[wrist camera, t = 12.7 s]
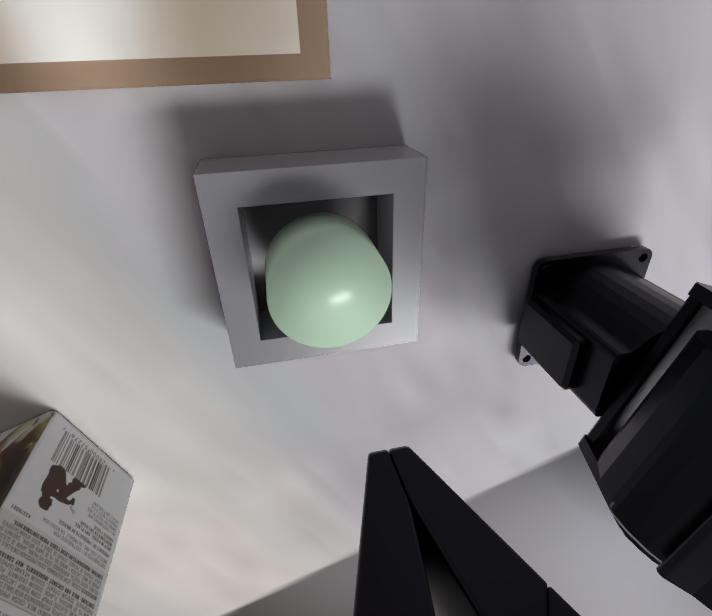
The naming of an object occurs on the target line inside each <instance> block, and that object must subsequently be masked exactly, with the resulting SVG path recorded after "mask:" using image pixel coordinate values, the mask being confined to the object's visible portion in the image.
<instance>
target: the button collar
mask: <svg viewBox="0 0 712 616" xmlns="http://www.w3.org/2000/svg"><path fill="white" fill-rule="evenodd" d="M426 164H427V157H426V156H424V155H422V154H421V153H419V152H417V151H415V150H414V149H412V148H410V147H408V146H407V145H398V146H384V147H370V148H356V149H342V150H328V151H314V152H300V153H286V154H272V155H258V156H244V157H230V158H216V159H202V160H201V161H200V162H199V164H198V166H197V168H196V170H195V172H194V174H193V177H194V182H195V186H196V191H197V195H198V200H199V204H200V209H201V213H202V218H203V222H204V227H205V231H206V236H207V240H208V245H209V249H210V254H211V258H212V263H213V267H214V272H215V276H216V281H217V285H218V290H219V294H220V299H221V303H222V308H223V312H224V317H225V321H226V326H227V330H228V335H229V339H230V344H231V348H232V353H233V357H234V362H235V366H236V368H240V367H247V366H254V365H261V364H267V363H274V362H281V361H288V360H294V359H301V358H308V357H315V356H321V355H328V354H335V353H342V352H348V351H355V350H362V349H369V348H375V347H382V346H389V345H396V344H402V343H409V342H416V341H417V336H418V317H419V298H420V279H421V259H422V240H423V221H424V202H425V183H426ZM372 195H377V251H378V252H379V254H380V255H381V257H382V258H383V260H384V262H385V264H386V265H387V267H388V270H389V272H390V276H391V281H392V293H391V299H390V303H389V306H388V308H387V310H386V312H385V314H384V316H383V317H382V319H381V320H380V322H379V323H378V324H377V325H376V326H375V327H374V328H373V329H372V330H371V331H370V332H369V333H367V334H366V335H364V336H363V337H361V338H359V339H358V340H356V341H353V342H351V343H349V344H345V345H342V346H337V347H330V348H319V347H311V346H307V345H304V344H301V343H299V342H296V341H295V340H293V339H291V338H289V337H288V336H287V335H285V334H284V333H283V332H282V331H281V330H280V329H279V328H278V327H277V325H276V324H275V322H274V321H273V319H272V317H271V315H270V312H269V309H267V310H260V308H259V302H258V296H257V290H256V285H255V279H254V273H253V267H252V261H251V255H250V249H249V244H248V238H247V232H246V226H245V220H244V214H243V208H242V207H250V206H261V205H272V204H283V203H294V202H305V201H317V200H328V199H339V198H350V197H361V196H372Z"/></svg>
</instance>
